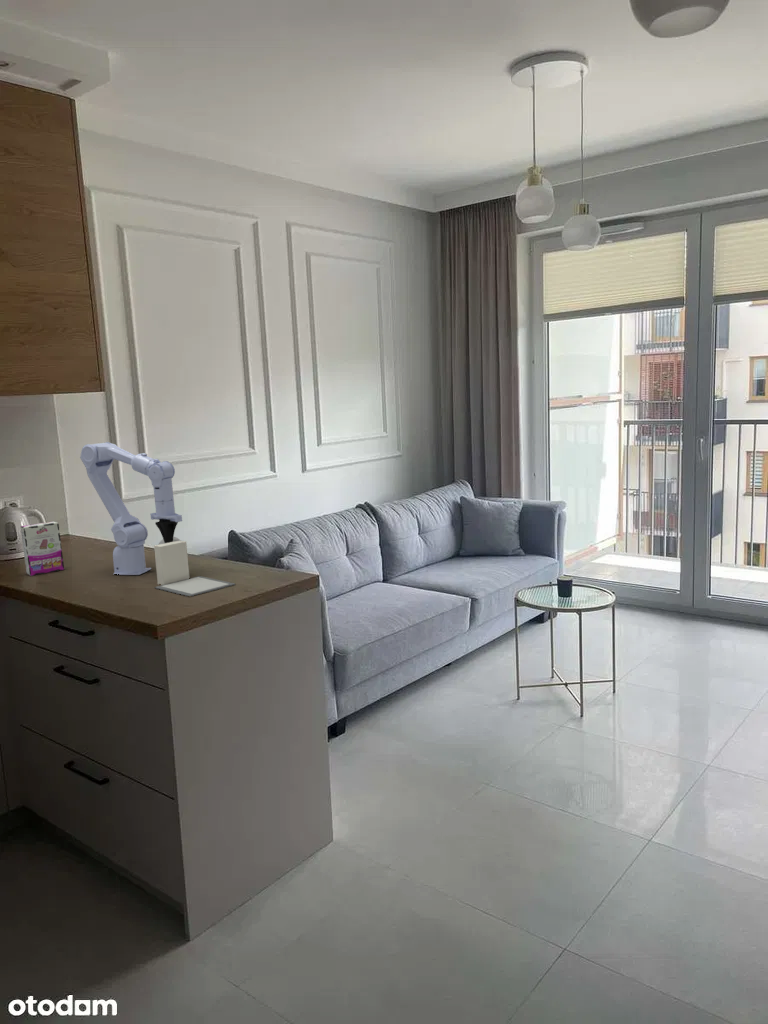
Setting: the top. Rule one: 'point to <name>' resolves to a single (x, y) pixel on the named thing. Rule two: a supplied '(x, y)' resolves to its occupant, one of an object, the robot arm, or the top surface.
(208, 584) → the mat
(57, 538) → the candy bar box
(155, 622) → the top surface
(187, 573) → the card box
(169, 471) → the robot arm
